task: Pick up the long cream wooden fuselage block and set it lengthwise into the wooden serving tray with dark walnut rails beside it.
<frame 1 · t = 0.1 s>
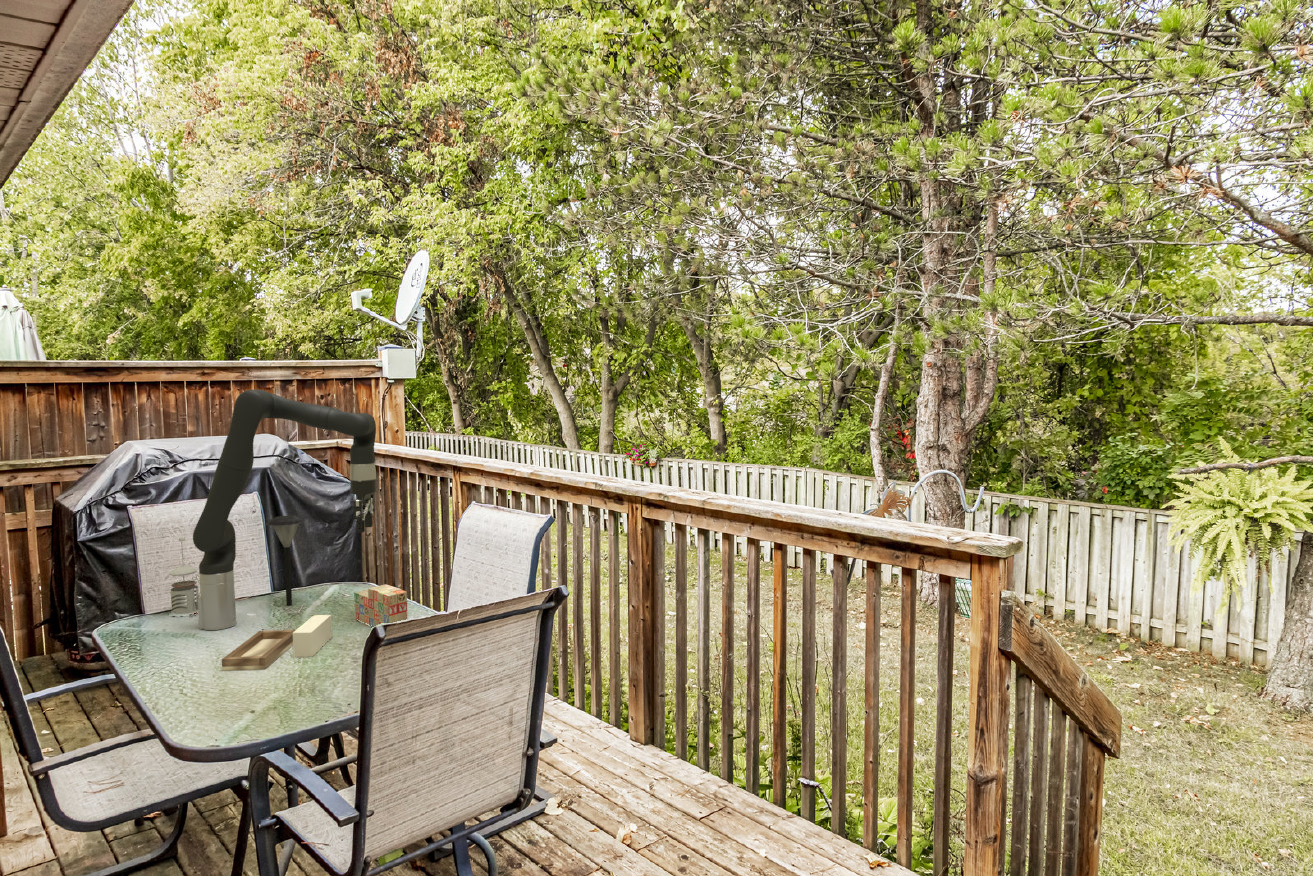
hand: (365, 529, 244), 29 cm above the table, tool pointing down, fingers open, 8 cm apart
fuselage block: (313, 647, 224), on the table
french press: (188, 613, 257), on the table
solar garden light: (289, 605, 265), on the table
wooden serving tray: (262, 654, 218), on the table
stack of blocks: (381, 626, 243), on the table
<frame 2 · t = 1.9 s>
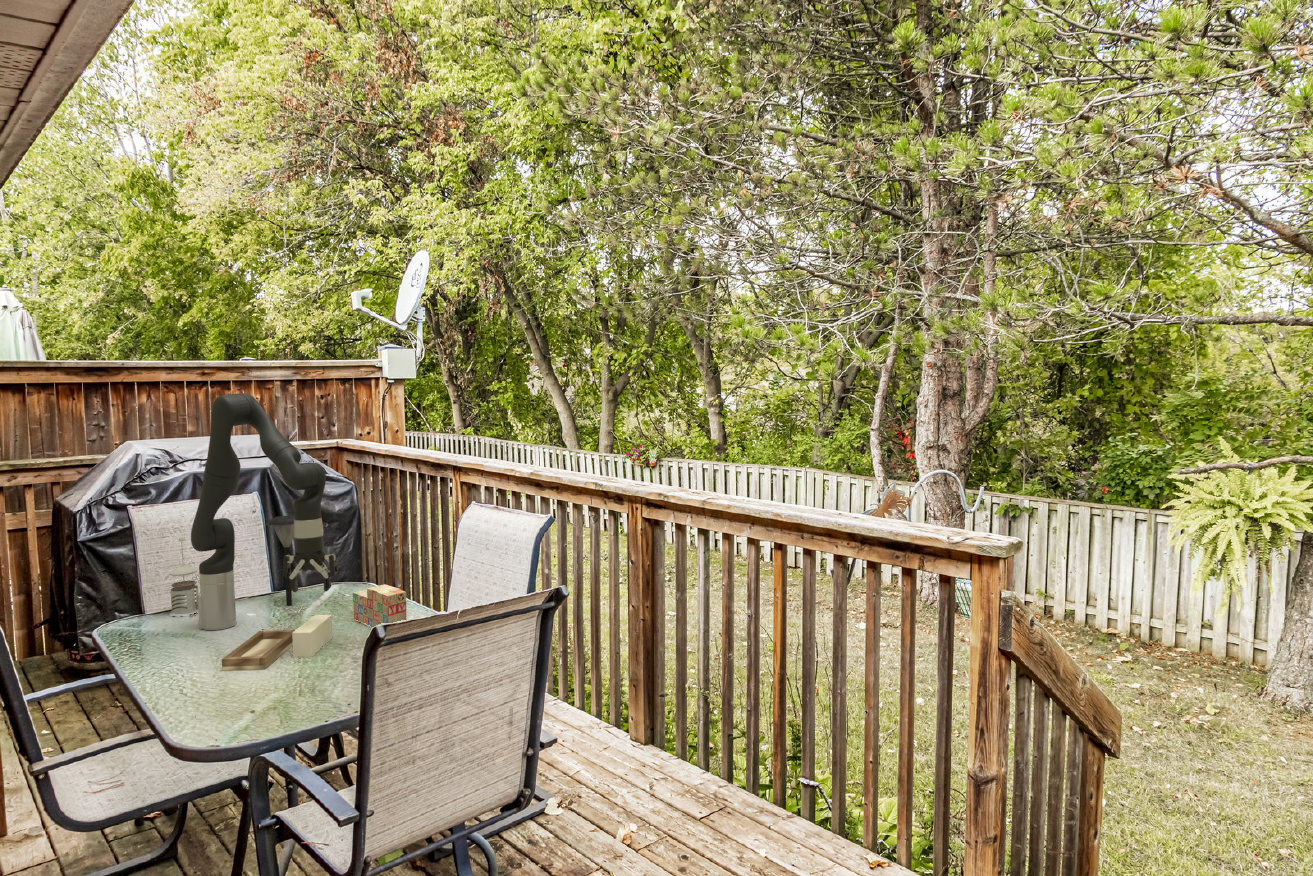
hand: (311, 591, 222), 16 cm above the table, tool pointing down, fingers open, 8 cm apart
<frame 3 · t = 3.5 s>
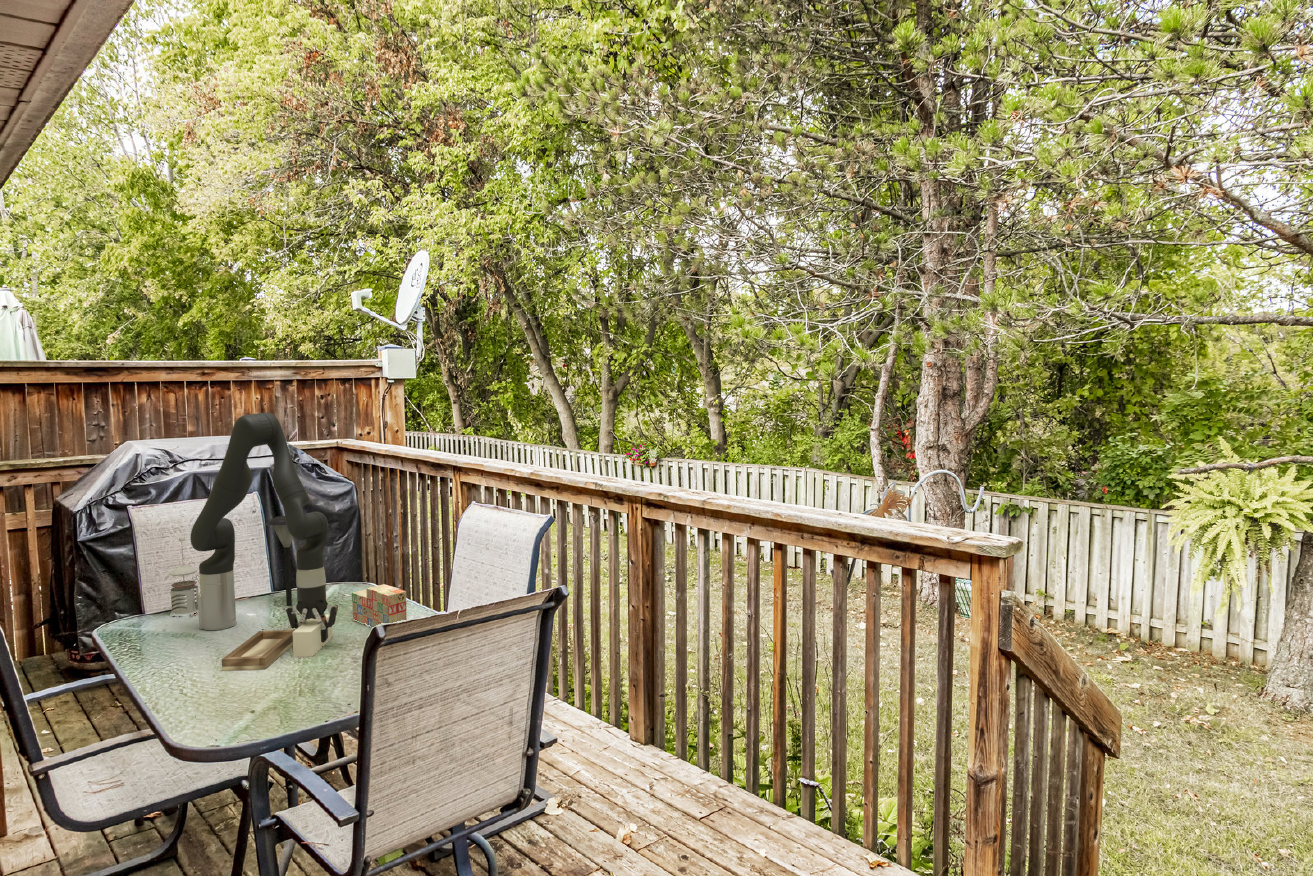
hand: (313, 641, 224), 2 cm above the table, tool pointing down, fingers closed on fuselage block, 5 cm apart
fuselage block: (313, 647, 224), on the table, touching gripper
everything else where it was.
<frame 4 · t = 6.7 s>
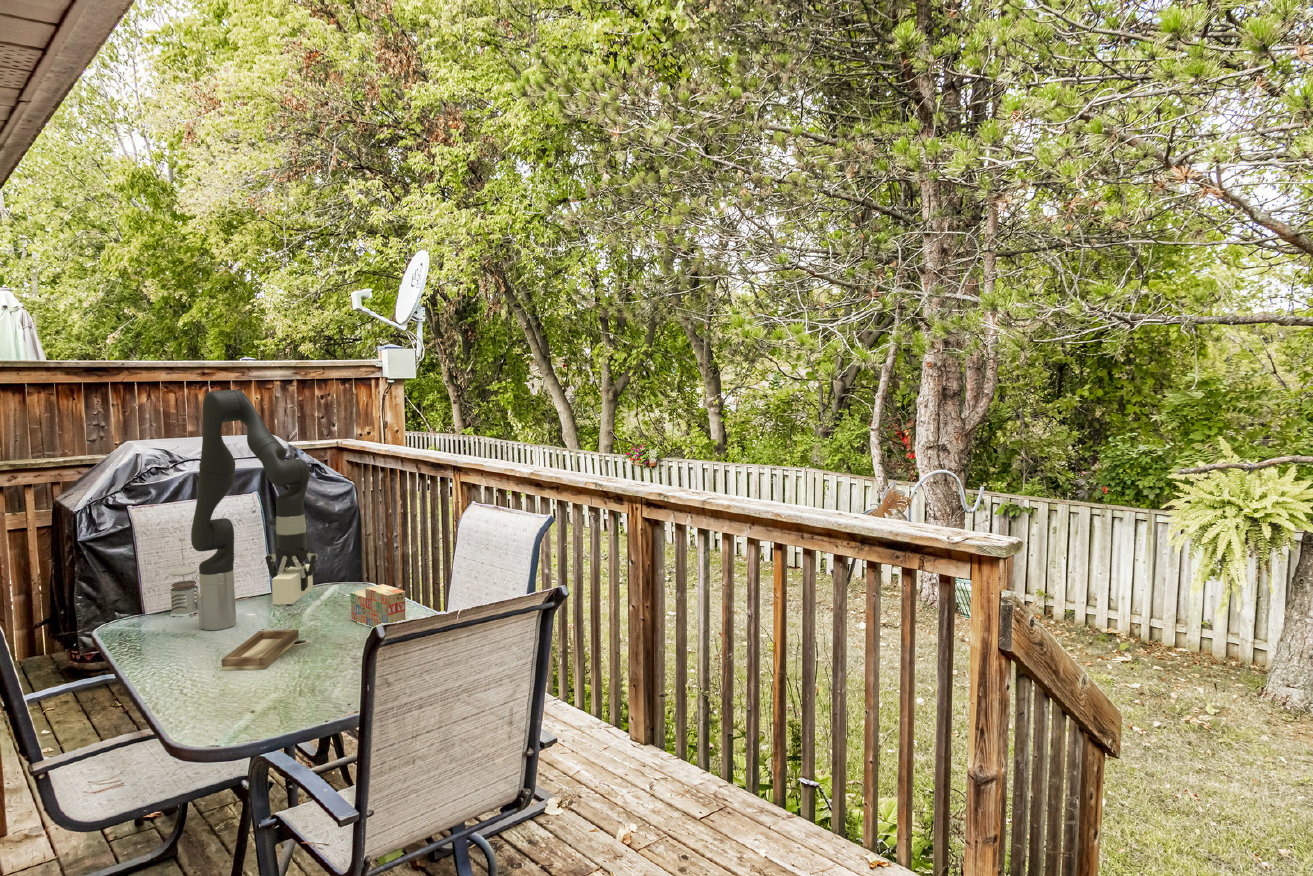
hand: (293, 590, 221), 17 cm above the table, tool pointing down, fingers closed on fuselage block, 5 cm apart
fuselage block: (293, 595, 221), point 15 cm above the table, touching gripper
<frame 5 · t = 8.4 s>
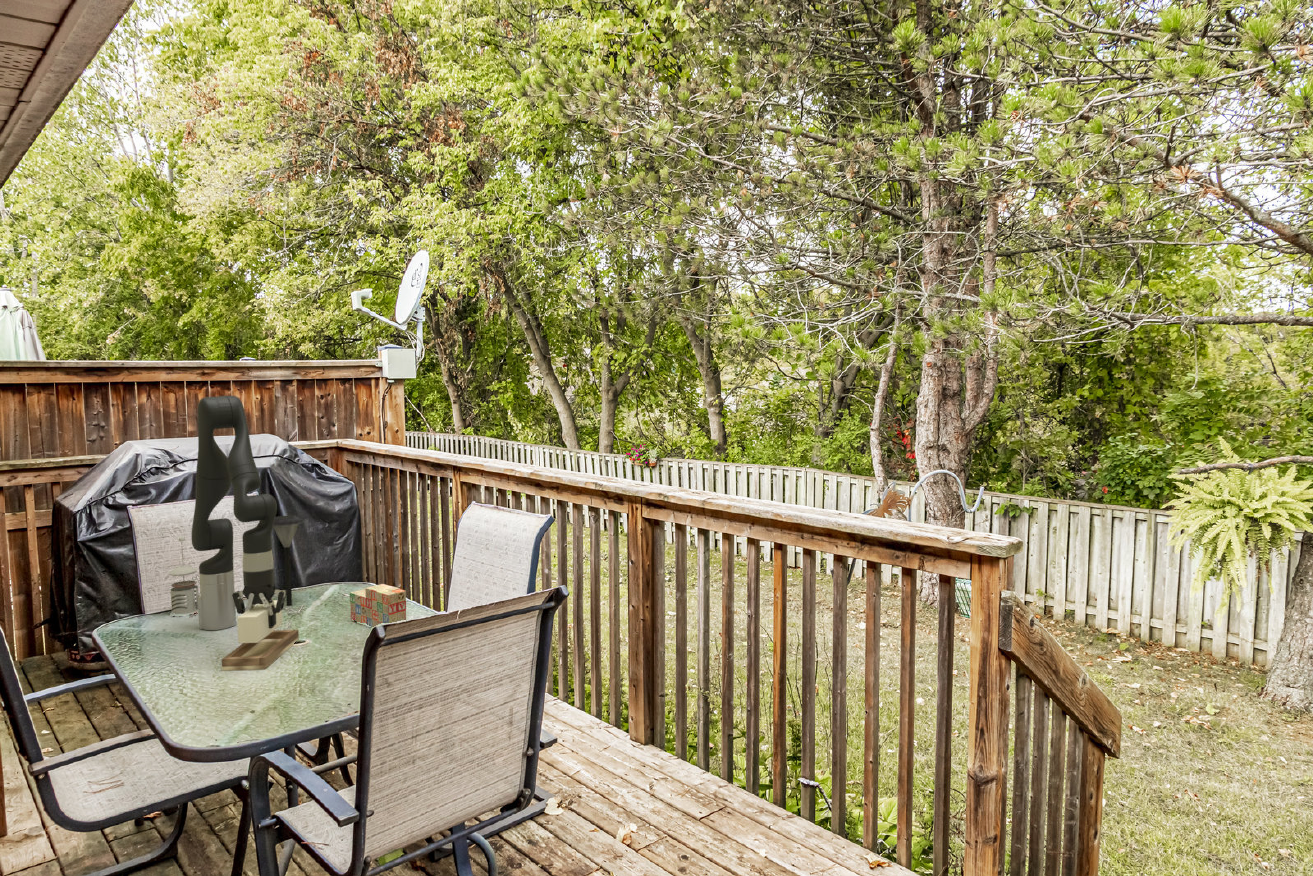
hand: (261, 627, 217), 8 cm above the table, tool pointing down, fingers closed on fuselage block, 5 cm apart
fuselage block: (261, 633, 217), point 6 cm above the table, touching gripper
when the fingers open (4 cm above the table, at t = 9.7 s): fuselage block drops 1 cm, resting on wooden serving tray.
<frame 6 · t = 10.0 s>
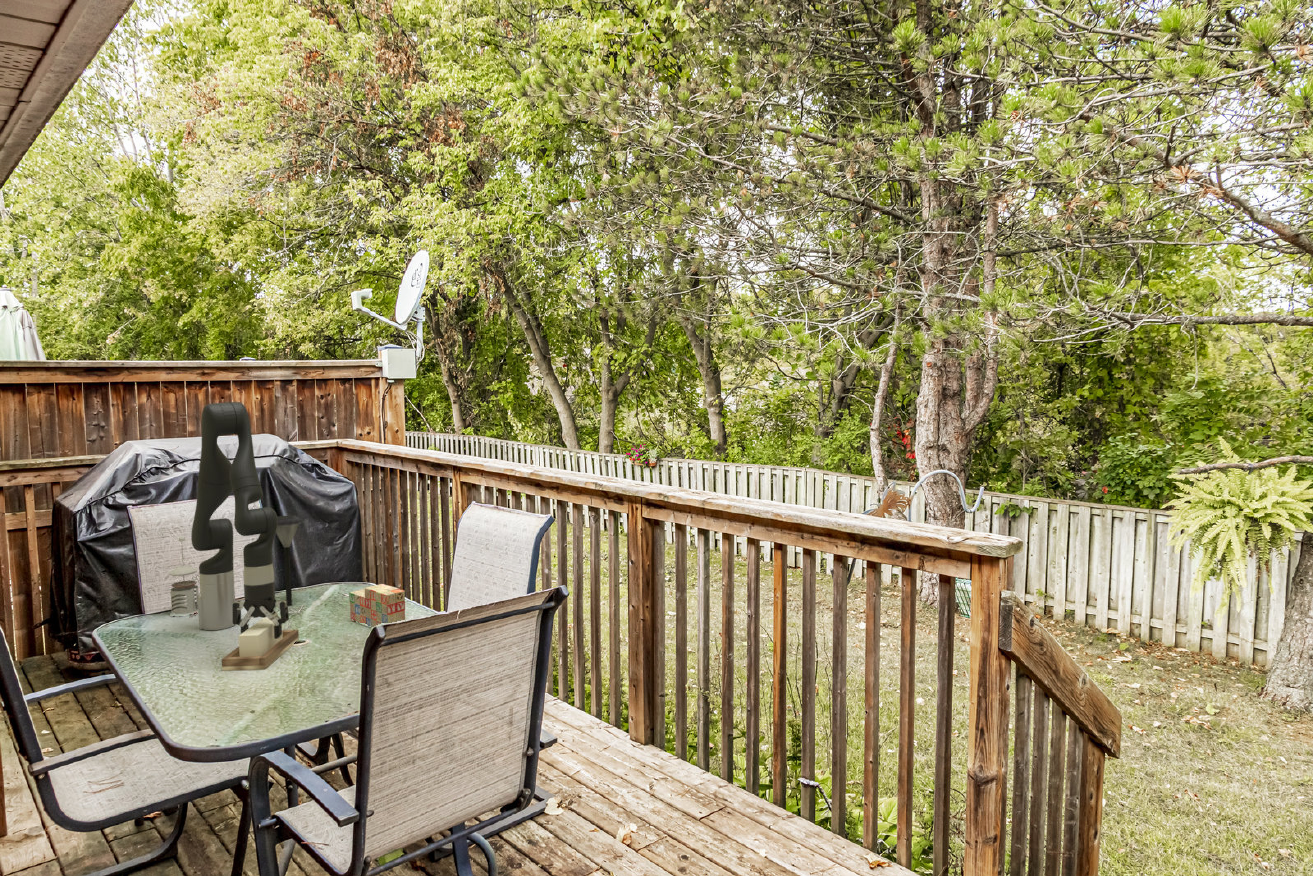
hand: (261, 638, 218), 5 cm above the table, tool pointing down, fingers open, 8 cm apart
fuselage block: (262, 650, 218), point 1 cm above the table, touching wooden serving tray
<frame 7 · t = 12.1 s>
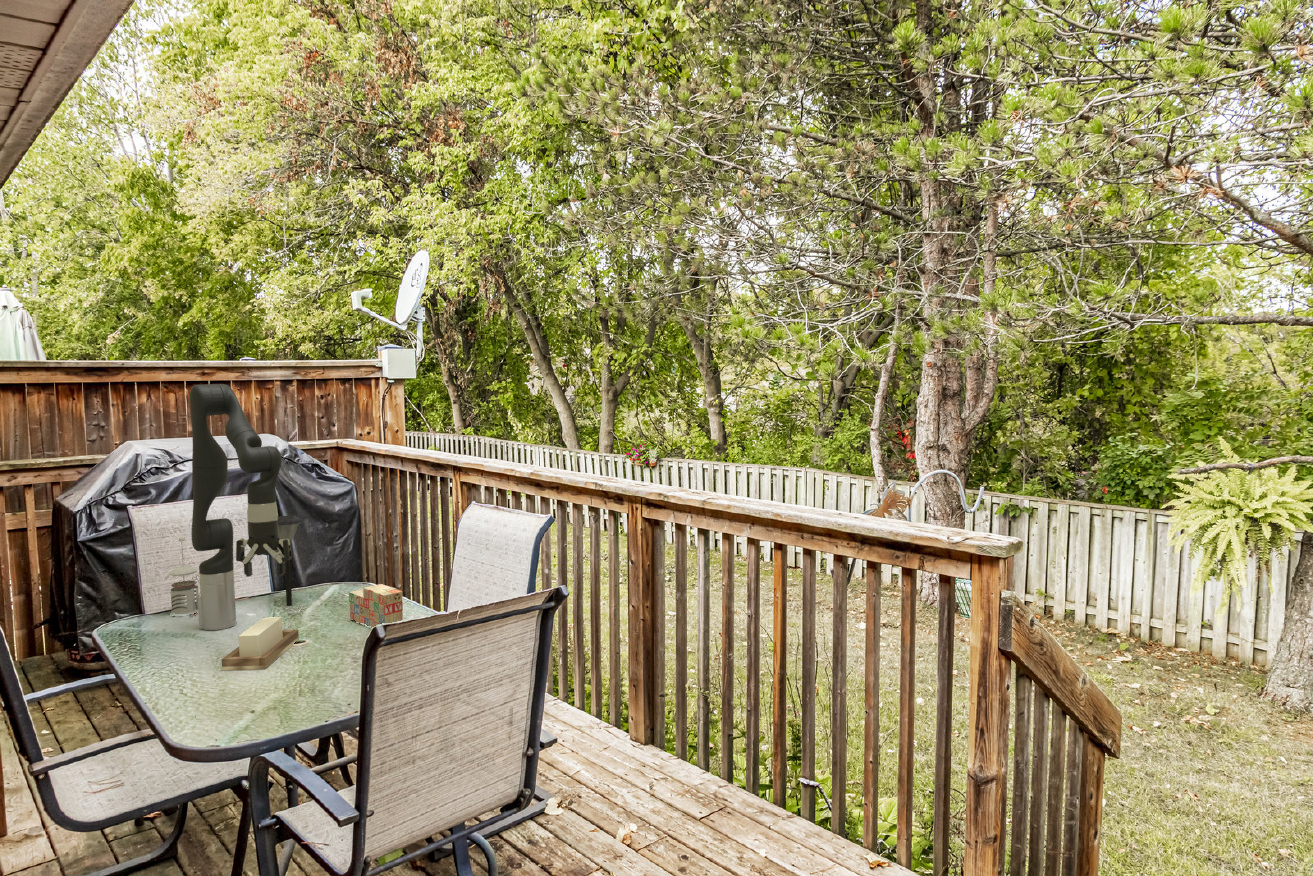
hand: (265, 575, 219), 21 cm above the table, tool pointing down, fingers open, 8 cm apart
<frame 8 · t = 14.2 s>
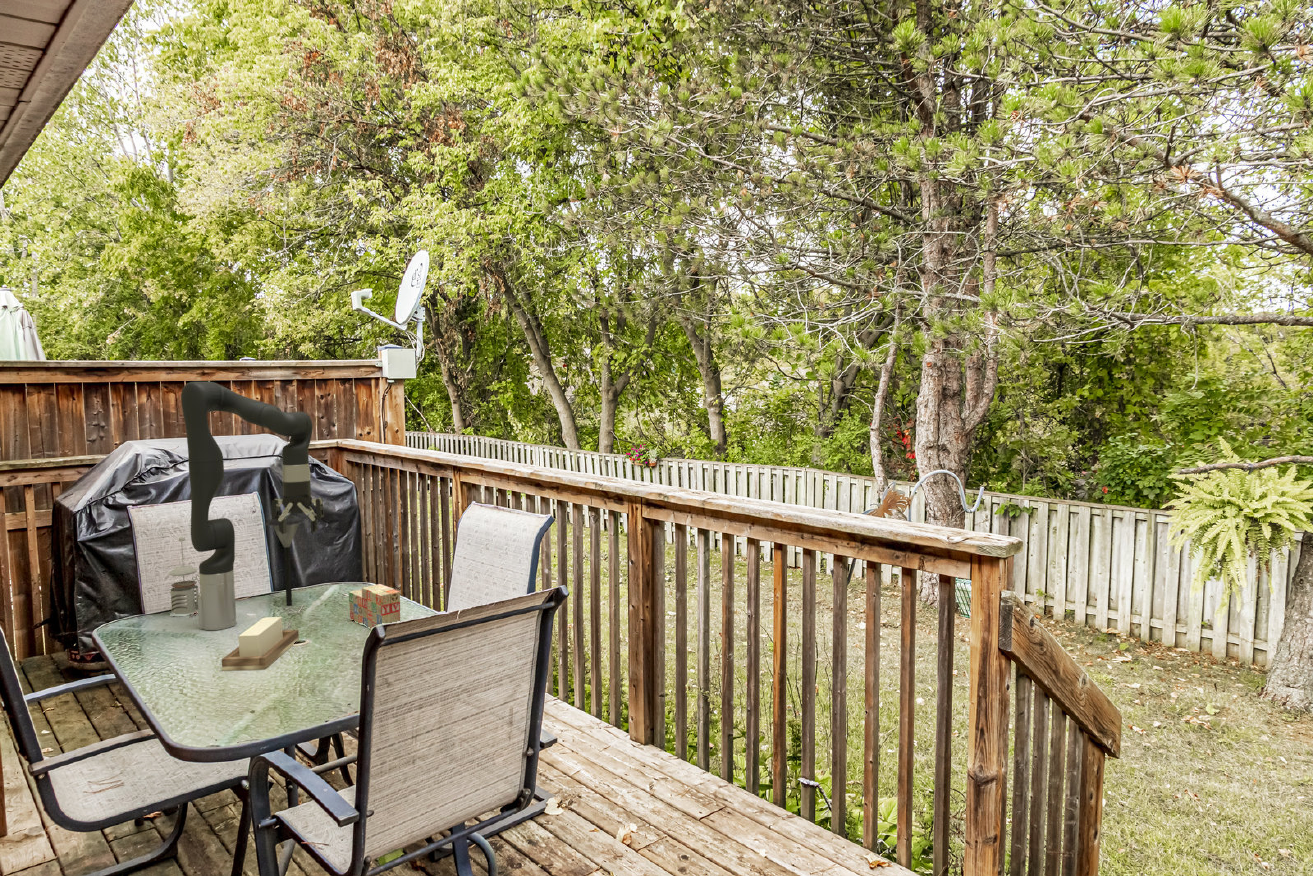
hand: (298, 533, 235), 30 cm above the table, tool pointing down, fingers open, 8 cm apart
at the end: fuselage block 0.1 cm off-centre on the wooden serving tray, point 1.0 cm above the wooden serving tray's base; fuselage block tilted 0°; the gripper is holding nothing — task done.
